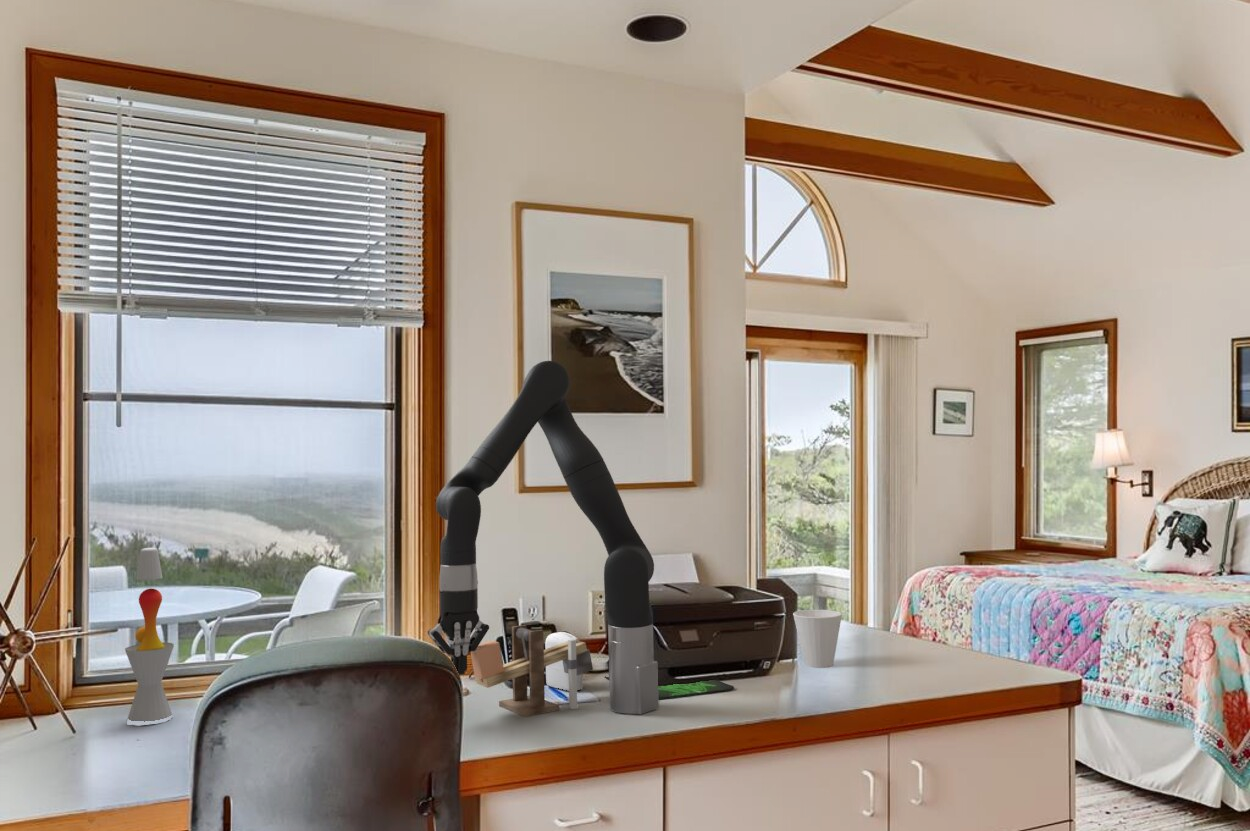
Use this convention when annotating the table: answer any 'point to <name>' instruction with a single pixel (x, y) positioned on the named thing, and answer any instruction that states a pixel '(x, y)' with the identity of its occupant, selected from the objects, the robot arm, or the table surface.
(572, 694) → the post
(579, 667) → the beam
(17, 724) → the table surface
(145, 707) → the lava lamp
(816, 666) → the cup
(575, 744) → the table surface
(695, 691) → the mouse mat
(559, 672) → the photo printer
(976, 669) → the table surface
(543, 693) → the pivot post
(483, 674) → the rider
